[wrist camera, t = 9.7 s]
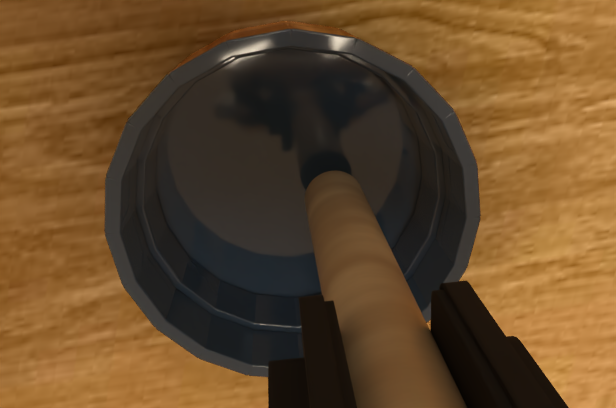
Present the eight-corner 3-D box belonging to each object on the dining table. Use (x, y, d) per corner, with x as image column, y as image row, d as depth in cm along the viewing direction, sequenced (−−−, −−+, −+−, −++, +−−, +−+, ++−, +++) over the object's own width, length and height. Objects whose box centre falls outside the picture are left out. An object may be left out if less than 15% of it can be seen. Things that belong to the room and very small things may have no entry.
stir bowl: (97, 244, 23) (54, 309, 18) (208, -39, 19) (190, -49, 15) (351, 340, 26) (371, 418, 21) (491, 106, 22) (551, 137, 17)
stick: (294, 211, 21) (352, 650, 7) (320, 160, 20) (441, 534, 6) (345, 233, 21) (495, 685, 8) (372, 184, 21) (590, 580, 7)
